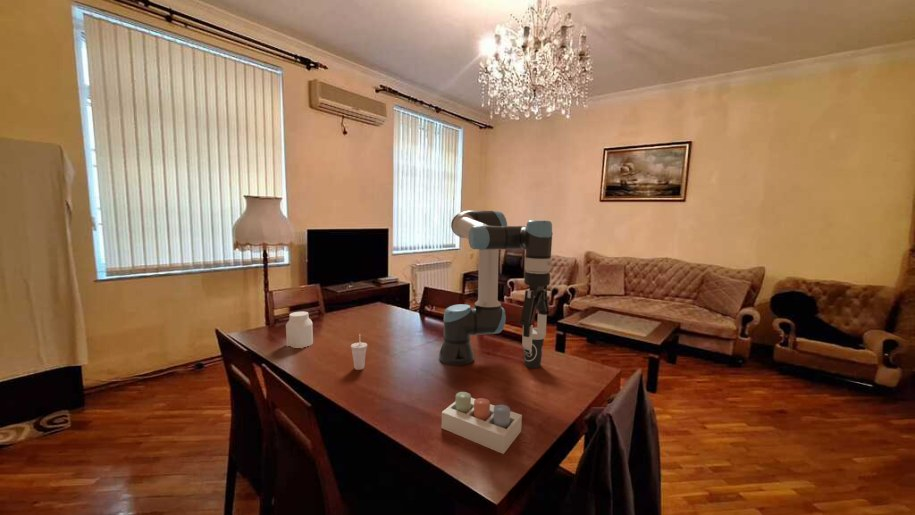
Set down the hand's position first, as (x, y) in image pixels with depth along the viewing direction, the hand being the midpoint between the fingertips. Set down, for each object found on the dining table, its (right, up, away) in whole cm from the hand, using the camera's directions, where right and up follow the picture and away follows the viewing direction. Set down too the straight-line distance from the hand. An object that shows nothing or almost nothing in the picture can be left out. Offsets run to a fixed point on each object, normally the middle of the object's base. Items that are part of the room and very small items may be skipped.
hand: (534, 340), depth 107 cm
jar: (-99, -16, +59) cm, 116 cm away
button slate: (-11, -23, -9) cm, 27 cm away
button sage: (-22, -22, -2) cm, 31 cm away
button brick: (-17, -23, -5) cm, 29 cm away
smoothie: (-64, -20, +35) cm, 75 cm away
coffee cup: (+8, -20, +41) cm, 46 cm away
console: (-17, -25, -5) cm, 31 cm away
